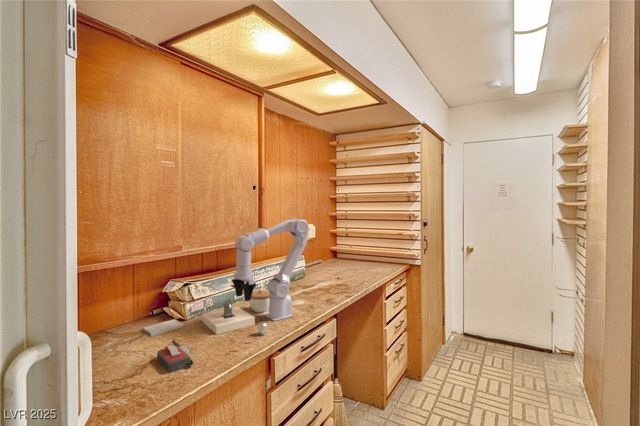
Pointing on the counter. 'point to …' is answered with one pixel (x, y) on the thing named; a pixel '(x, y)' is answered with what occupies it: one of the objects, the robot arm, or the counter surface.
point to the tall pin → (227, 310)
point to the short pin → (262, 328)
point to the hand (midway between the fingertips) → (243, 298)
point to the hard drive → (162, 327)
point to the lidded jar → (259, 301)
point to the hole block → (227, 320)
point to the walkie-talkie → (174, 357)
